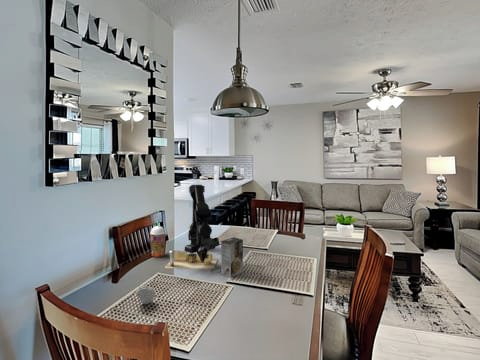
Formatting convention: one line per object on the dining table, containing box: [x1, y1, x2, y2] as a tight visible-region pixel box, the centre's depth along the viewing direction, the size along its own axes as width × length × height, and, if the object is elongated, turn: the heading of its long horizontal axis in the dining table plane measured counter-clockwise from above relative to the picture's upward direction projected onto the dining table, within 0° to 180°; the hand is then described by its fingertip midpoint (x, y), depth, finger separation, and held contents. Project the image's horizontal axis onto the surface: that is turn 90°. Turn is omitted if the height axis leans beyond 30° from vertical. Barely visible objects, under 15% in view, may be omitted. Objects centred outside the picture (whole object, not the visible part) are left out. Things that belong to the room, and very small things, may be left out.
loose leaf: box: [196, 252, 213, 263], centre depth 150 cm, size 2×8×4 cm, turn 73°
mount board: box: [164, 258, 219, 272], centre depth 149 cm, size 16×24×1 cm, turn 84°
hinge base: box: [174, 250, 197, 263], centre depth 152 cm, size 5×13×5 cm, turn 84°
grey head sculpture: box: [135, 285, 156, 305], centre depth 108 cm, size 6×7×7 cm
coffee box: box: [220, 236, 244, 278], centre depth 137 cm, size 9×6×16 cm
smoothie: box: [149, 220, 166, 258], centre depth 160 cm, size 8×8×20 cm
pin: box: [168, 249, 176, 267], centre depth 145 cm, size 3×3×8 cm
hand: (202, 262), depth 147 cm, fingers closed
